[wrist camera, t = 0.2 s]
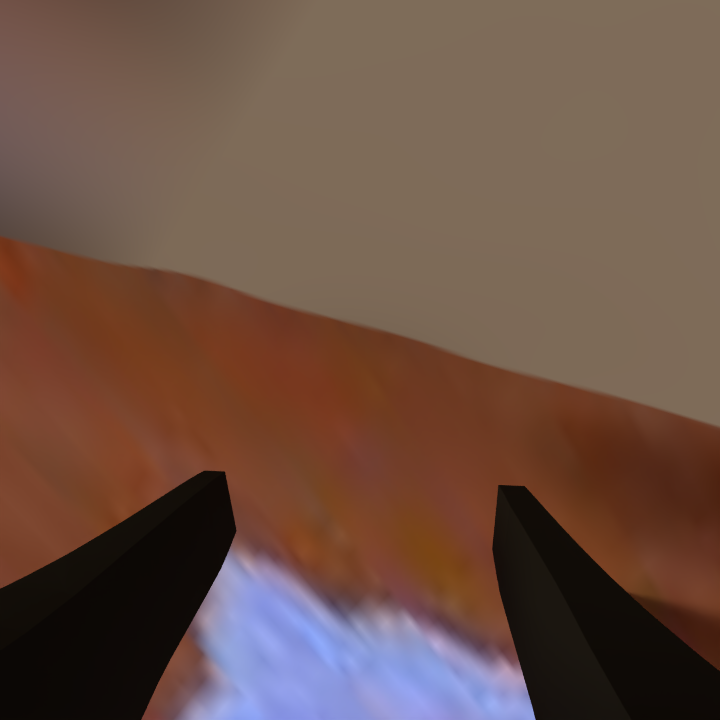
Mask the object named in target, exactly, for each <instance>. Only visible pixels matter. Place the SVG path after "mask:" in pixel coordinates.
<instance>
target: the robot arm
mask: <svg viewBox="0 0 720 720" xmlns="http://www.w3.org/2000/svg"><path fill="white" fill-rule="evenodd" d="M235 533H236V526H235V521H234V516H233V511H232V505H231V500H230V495H229V490H228V485H227V480H226V475H225V472H221V471H203V472H201V473H199V474H197V475H196V476H194V477H192V478H191V479H189V480H187V481H186V482H184V483H182V484H181V485H179V486H178V487H176V488H175V489H173V490H171V491H170V492H168V493H167V494H165V495H164V496H162V497H161V498H159V499H157V500H156V501H154V502H153V503H151V504H150V505H148V506H146V507H145V508H143V509H142V510H140V511H139V512H137V513H135V514H134V515H132V516H131V517H129V518H128V519H126V520H124V521H123V522H121V523H119V524H118V525H116V526H114V527H113V528H111V529H109V530H108V531H106V532H104V533H103V534H101V535H99V536H98V537H96V538H94V539H93V540H91V541H89V542H88V543H86V544H84V545H83V546H81V547H79V548H77V549H76V550H74V551H72V552H70V553H69V554H67V555H65V556H63V557H61V558H59V559H58V560H56V561H54V562H52V563H50V564H48V565H46V566H44V567H43V568H41V569H39V570H37V571H35V572H33V573H31V574H29V575H27V576H25V577H23V578H21V579H19V580H17V581H15V582H13V583H11V584H9V585H7V586H5V587H3V588H1V589H0V720H141V719H142V717H143V715H144V712H145V710H146V708H147V706H148V704H149V702H150V699H151V697H152V695H153V693H154V691H155V689H156V686H157V684H158V682H159V680H160V678H161V676H162V674H163V673H164V671H165V669H166V667H167V665H168V663H169V661H170V659H171V657H172V656H173V654H174V652H175V650H176V648H177V647H178V645H179V643H180V641H181V640H182V638H183V636H184V634H185V632H186V631H187V629H188V627H189V625H190V624H191V622H192V620H193V618H194V616H195V615H196V613H197V611H198V609H199V608H200V606H201V604H202V602H203V600H204V599H205V597H206V595H207V593H208V591H209V590H210V588H211V586H212V584H213V582H214V581H215V579H216V577H217V575H218V573H219V571H220V569H221V567H222V565H223V563H224V560H225V558H226V556H227V553H228V551H229V549H230V546H231V544H232V541H233V538H234V536H235ZM492 550H493V556H494V562H495V568H496V574H497V580H498V585H499V591H500V595H501V599H502V602H503V606H504V609H505V613H506V616H507V620H508V624H509V627H510V631H511V634H512V638H513V641H514V645H515V648H516V651H517V655H518V658H519V662H520V665H521V669H522V672H523V676H524V679H525V683H526V686H527V690H528V693H529V697H530V700H531V704H532V707H533V711H534V715H535V719H536V720H720V671H719V670H717V669H716V668H715V667H714V666H712V665H711V664H710V663H709V662H707V661H706V660H705V659H704V658H702V657H701V656H700V655H699V654H697V653H696V652H695V651H694V650H693V649H691V648H690V647H689V646H688V645H687V644H685V643H684V642H683V641H682V640H681V639H680V638H678V637H677V636H676V635H675V634H674V633H672V632H671V631H670V630H669V629H668V628H666V627H665V626H664V625H663V624H662V623H661V622H659V621H658V620H657V619H656V618H655V617H654V616H652V615H651V614H650V613H649V612H648V611H647V610H646V609H645V608H643V607H642V606H641V605H640V604H639V603H638V602H637V601H636V600H635V599H633V598H632V597H631V596H630V595H629V594H628V593H627V592H626V591H625V590H624V589H623V588H622V587H621V586H620V585H619V584H617V583H616V582H615V581H614V580H613V579H612V578H611V577H610V576H609V575H608V574H607V573H606V572H605V571H604V570H603V569H602V568H601V567H600V566H599V565H598V564H597V563H596V562H595V561H594V560H593V559H592V558H591V557H590V556H589V555H588V554H587V553H586V552H585V551H584V550H583V549H582V548H581V547H580V546H579V545H578V544H577V543H576V542H575V541H574V540H573V539H572V537H571V536H570V535H569V534H568V533H567V532H566V531H565V530H564V529H563V528H562V527H561V526H560V525H559V523H558V522H557V521H556V520H555V519H554V518H553V517H552V516H551V515H550V514H549V513H548V511H547V510H546V509H545V508H544V507H543V506H542V505H541V504H540V502H539V501H538V500H537V499H536V498H535V497H534V496H533V495H532V494H531V493H530V491H529V490H528V489H527V488H526V487H525V486H509V485H498V496H497V506H496V516H495V527H494V537H493V548H492Z"/></svg>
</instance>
